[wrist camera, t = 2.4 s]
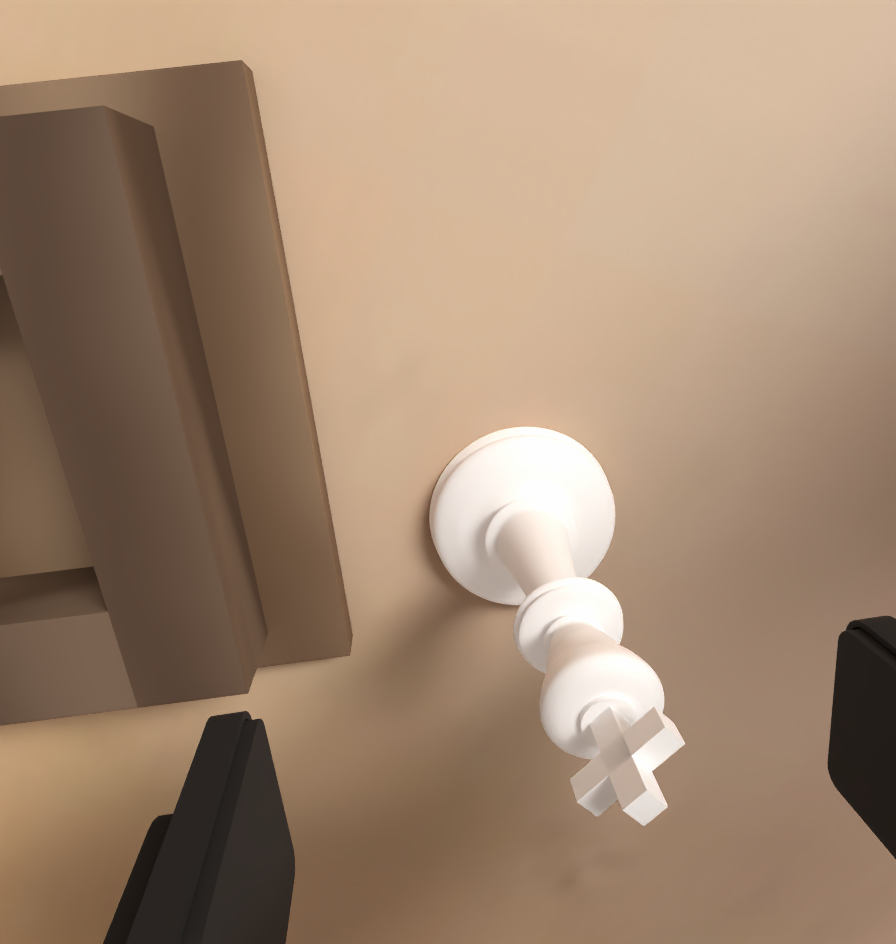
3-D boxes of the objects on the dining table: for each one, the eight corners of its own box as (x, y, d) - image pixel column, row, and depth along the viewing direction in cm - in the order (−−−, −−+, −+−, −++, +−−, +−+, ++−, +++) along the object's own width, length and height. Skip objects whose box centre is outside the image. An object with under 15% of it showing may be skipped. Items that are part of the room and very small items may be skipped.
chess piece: (648, 507, 19) (899, 788, 9) (520, 627, 20) (631, 991, 10) (521, 387, 17) (663, 571, 8) (390, 521, 18) (379, 829, 9)
